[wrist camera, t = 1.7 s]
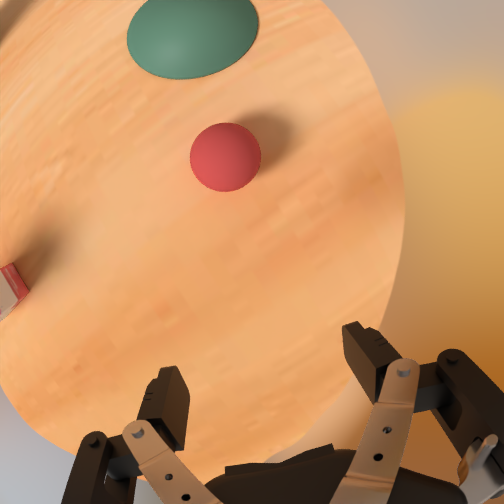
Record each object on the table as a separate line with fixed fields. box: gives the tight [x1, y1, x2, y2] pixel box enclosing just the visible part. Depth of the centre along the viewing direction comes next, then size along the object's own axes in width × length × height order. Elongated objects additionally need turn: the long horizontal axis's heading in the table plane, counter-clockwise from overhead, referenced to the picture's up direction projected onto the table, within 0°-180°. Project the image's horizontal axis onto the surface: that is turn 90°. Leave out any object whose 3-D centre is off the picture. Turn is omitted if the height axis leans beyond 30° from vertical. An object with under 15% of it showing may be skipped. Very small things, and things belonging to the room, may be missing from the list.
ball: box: [190, 123, 261, 192], centre depth 23 cm, size 6×6×6 cm
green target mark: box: [127, 0, 258, 79], centre depth 22 cm, size 14×14×1 cm
